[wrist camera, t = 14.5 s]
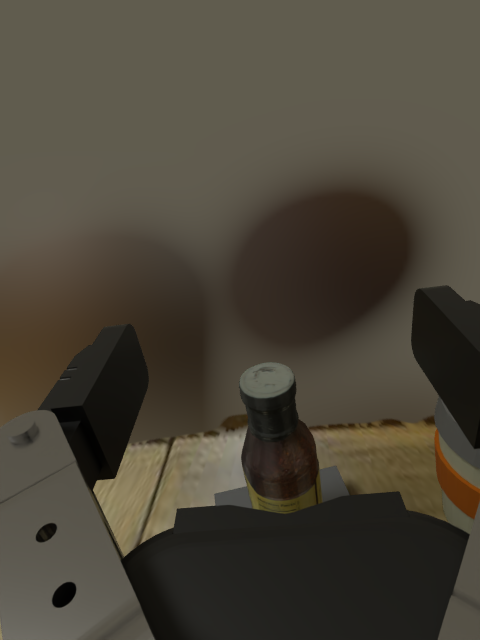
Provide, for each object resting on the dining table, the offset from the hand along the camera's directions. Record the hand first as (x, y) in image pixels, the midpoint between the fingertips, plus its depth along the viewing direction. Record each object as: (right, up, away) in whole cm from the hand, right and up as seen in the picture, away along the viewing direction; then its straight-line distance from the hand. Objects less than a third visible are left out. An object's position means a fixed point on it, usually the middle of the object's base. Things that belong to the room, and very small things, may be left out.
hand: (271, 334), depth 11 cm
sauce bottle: (+4, -21, +26) cm, 34 cm away
